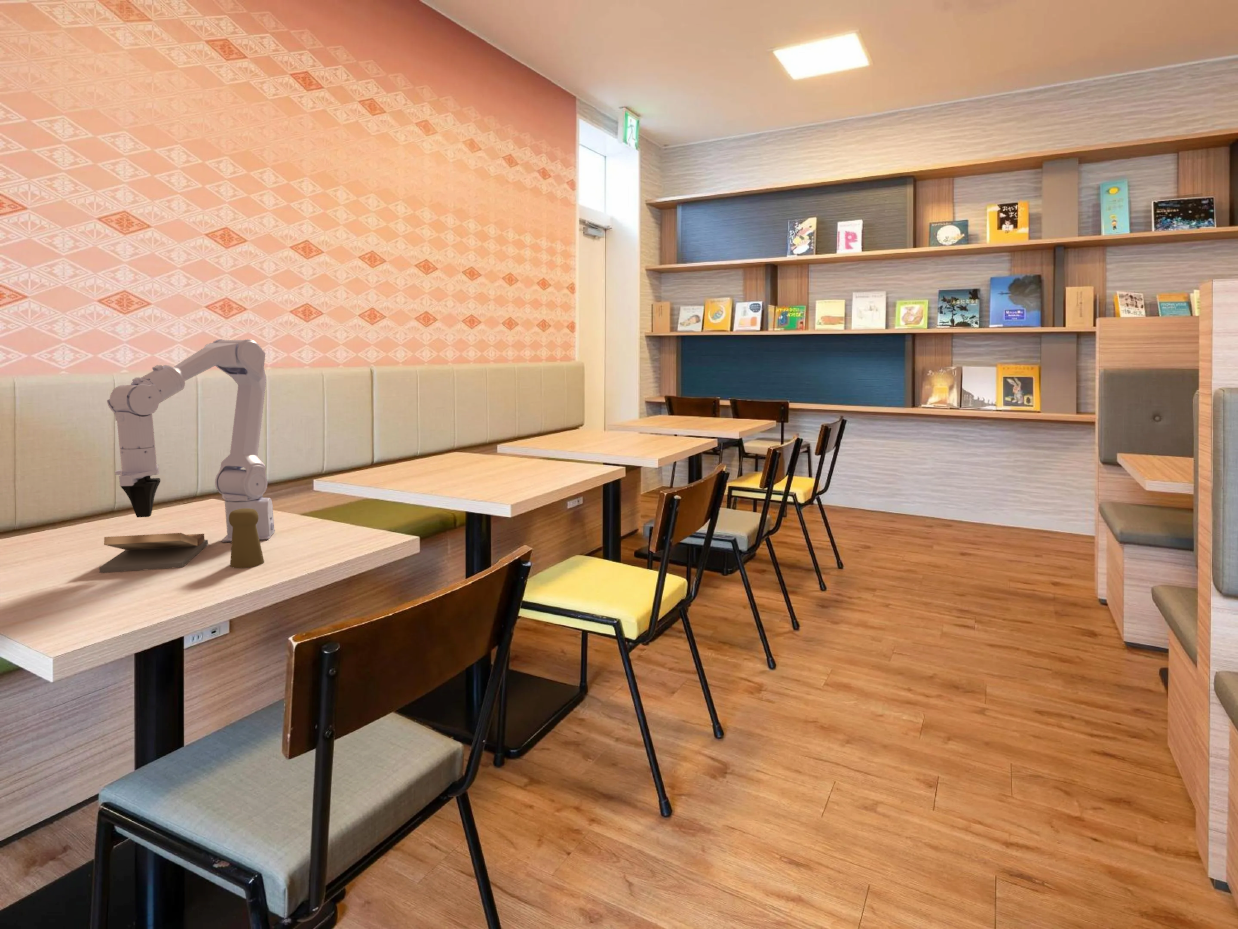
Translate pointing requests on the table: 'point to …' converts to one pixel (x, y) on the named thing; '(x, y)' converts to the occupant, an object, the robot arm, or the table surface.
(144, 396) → the robot arm
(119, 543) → the oak plank
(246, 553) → the olive pawn
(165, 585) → the table surface
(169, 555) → the rubber mat
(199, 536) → the brown curved block
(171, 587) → the table surface
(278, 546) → the table surface
